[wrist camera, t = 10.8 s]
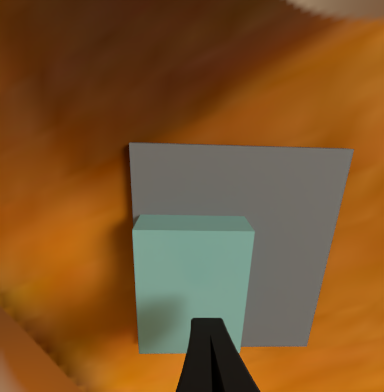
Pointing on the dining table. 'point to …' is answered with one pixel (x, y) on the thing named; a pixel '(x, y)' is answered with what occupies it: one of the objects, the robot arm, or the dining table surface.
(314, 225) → the mat
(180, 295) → the block
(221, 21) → the dining table surface
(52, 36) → the dining table surface
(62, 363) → the dining table surface
